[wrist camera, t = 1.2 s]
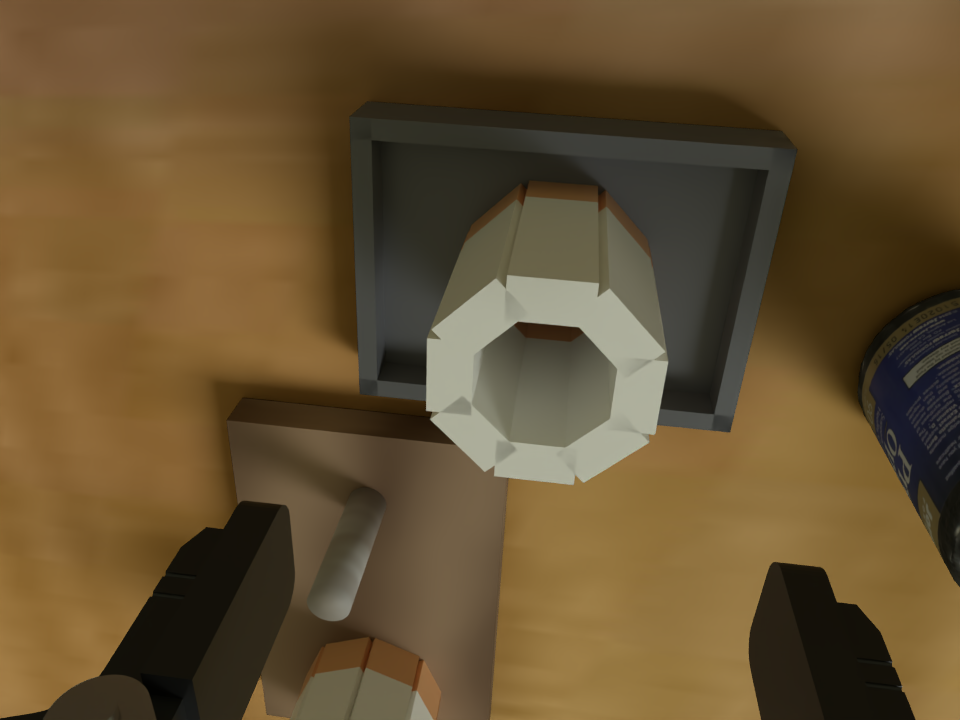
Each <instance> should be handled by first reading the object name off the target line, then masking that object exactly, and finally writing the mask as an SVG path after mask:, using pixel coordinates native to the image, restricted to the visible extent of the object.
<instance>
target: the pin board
mask: <svg viewBox="0 0 960 720" xmlns="http://www.w3.org/2000/svg"><path fill="white" fill-rule="evenodd" d="M227 428H228V435H229V442H230V450H231V457H232V464H233V472H234V479H235V486H236V494H237V501H238V504H239V503H240V502H241V501H244V500H245V501H254V502H263V503H272V504H281V505H286V506H287V507H288V509H289V513H290V523H291V533H292V544H293V554H294V565H295V583H294V590H293V595H292V599H291V603H290V606H289V609H288V611H287V614H286V616H285V618H284V621H283V623H282V625H281V628H280V630H279V632H278V635H277V637H276V639H275V642H274V644H273V647H272V649H271V651H270V654H269V656H268V658H267V661H266V663H265V665H264V668H263V670H262V672H261V677H262V684H263V691H264V699H265V706H266V713H267V715H272V716H279V717H286V718H291V716H292V713H293V710H294V708H295V705H296V702H297V700H298V697H299V694H300V691H301V689H302V686H303V683H304V681H305V678H306V675H307V673H308V671H309V670H310V668H311V666H312V664H313V662H314V660H315V659H316V657H317V655H318V653H319V651H320V649H321V648H322V647H324V648H325V646H326V644H330V643H336V642H342V641H348V640H354V639H360V638H366V637H369V638H370V639H371V641H372V642H373V641H374V639H375V638H377V639H379V640H382V641H384V642H387V643H389V644H391V645H394V646H396V647H398V648H401V649H403V650H406V651H408V652H410V653H413V654H415V655H418V656H420V657H419V661H420V660H424V661H425V663H426V665H427V667H428V668H429V670H430V672H431V674H432V676H433V678H434V680H435V681H436V683H437V685H438V687H439V689H440V691H441V700H440V705H439V710H438V715H437V720H490V713H491V700H492V687H493V673H494V660H495V647H496V634H497V620H498V607H499V594H500V580H501V567H502V554H503V541H504V527H505V514H506V501H507V487H508V478H506V477H497V476H494V469H495V466H493V467H492V468H490V469H489V470H487V471H486V472H484V471H483V470H482V469H481V468H480V467H479V466H478V465H477V464H476V463H475V462H474V461H473V460H472V459H471V458H470V457H469V456H468V455H467V454H466V453H465V452H463V451H462V450H461V449H460V448H459V447H458V446H457V445H456V444H455V443H454V442H453V441H452V440H451V439H450V438H449V437H448V436H447V435H446V434H445V433H444V432H443V431H442V430H441V429H440V428H438V427H437V426H436V425H435V424H434V423H433V422H432V421H431V420H430V418H429V417H419V416H410V415H400V414H391V413H381V412H372V411H362V410H353V409H343V408H334V407H324V406H315V405H305V404H296V403H286V402H277V401H267V400H258V399H248V398H242V399H241V401H240V402H239V404H238V405H237V406H236V408H235V409H234V411H233V412H232V413H231V415H230V416H229V418H228V419H227Z"/></svg>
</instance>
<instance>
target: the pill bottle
mask: <svg viewBox="0 0 960 720" xmlns="http://www.w3.org/2000/svg"><path fill="white" fill-rule="evenodd" d="M858 400H859V403H860V405H861V407H862V410H863V413H864V416H865V417H866V419H867V421H868V423H869V424H870V426H871V428H872V430H873V432H874V434H875V435H876V437H877V439H878V441H879V443H880V445H881V447H882V448H883V450H884V452H885V454H886V456H887V458H888V459H889V461H890V463H891V465H892V467H893V469H894V470H895V472H896V474H897V477H898V478H899V480H900V482H901V483H902V485H903V487H904V489H905V490H906V493H907V494H908V496H909V498H910V500H911V501H912V503H913V505H914V507H915V509H916V511H917V513H918V514H919V516H920V518H921V520H922V522H923V524H924V525H925V527H926V529H927V531H928V533H929V535H930V536H931V538H932V540H933V542H934V544H935V545H936V547H937V549H938V551H939V553H940V555H941V557H942V559H943V560H944V563H945V564H946V566H947V568H948V570H949V572H950V574H951V575H952V577H953V579H954V581H955V582H956V583H957V584H958V585H959V587H960V289H957V290H952V291H949V292H945V293H941V294H938V295H936V296H933V297H931V298H929V299H926V300H923V301H921V302H919V303H917V304H916V305H914V306H911V307H909V308H907V309H906V310H905V311H903V312H902V313H901V314H900V315H898V316H897V317H896V318H895V319H893V320H892V321H891V322H890V323H889V324H887V325H886V326H885V327H884V328H883V329H882V331H881V332H880V333H879V334H878V335H877V336H876V337H875V339H874V341H873V342H872V344H871V345H870V346H869V348H868V350H867V352H866V354H865V357H864V359H863V362H862V364H861V369H860V374H859V383H858Z"/></svg>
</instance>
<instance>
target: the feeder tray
mask: <svg viewBox="0 0 960 720" xmlns="http://www.w3.org/2000/svg"><path fill="white" fill-rule="evenodd" d="M350 144H351V171H352V198H353V225H354V252H355V279H356V306H357V332H358V359H359V386H360V394H363V395H373V396H383V397H392V398H402V399H412V400H421V401H426V381H427V337H428V334H429V332H430V329H431V327H432V324H433V321H434V319H435V316H436V314H437V311H438V308H439V306H440V303H441V301H442V298H443V296H444V293H445V290H446V288H447V285H448V283H449V280H450V277H451V275H452V272H453V270H454V267H455V265H456V262H457V259H458V257H459V254H460V252H461V249H462V246H463V244H464V241H465V239H466V236H467V233H468V232H469V230H470V228H471V225H472V224H473V223H474V222H475V221H477V220H478V219H479V218H480V217H481V216H483V215H484V214H485V213H486V212H487V211H489V210H490V209H491V208H492V207H493V206H494V205H496V204H497V203H498V202H499V201H500V200H502V199H503V198H504V197H505V196H506V195H507V194H509V193H510V192H511V191H512V190H513V189H515V188H516V187H517V186H518V185H519V184H522V185H523V186H524V187H525V188H526V189H527V188H528V184H529V180H530V181H543V182H556V183H568V184H581V185H594V186H598V195H600V194H601V193H602V192H603V191H605V190H606V191H607V192H608V193H609V194H610V195H611V197H612V198H613V199H614V200H615V201H616V203H617V204H618V205H619V206H620V207H621V209H622V210H623V211H624V212H625V213H626V214H627V216H628V217H629V218H630V219H631V220H632V222H633V223H634V224H635V225H636V226H637V228H638V229H639V230H640V231H641V232H642V233H643V235H644V236H645V237H646V238H647V239H648V245H649V247H650V252H651V258H652V264H653V270H654V276H655V282H656V289H657V295H658V301H659V307H660V313H661V319H662V326H663V332H664V338H665V344H666V350H667V356H668V366H667V372H666V377H665V383H664V388H663V394H662V399H661V405H660V410H659V416H658V421H657V425H663V426H673V427H683V428H692V429H702V430H712V431H721V432H730V430H731V426H732V422H733V418H734V413H735V409H736V405H737V401H738V397H739V393H740V388H741V384H742V380H743V376H744V372H745V367H746V363H747V359H748V355H749V351H750V346H751V342H752V338H753V334H754V330H755V325H756V321H757V317H758V313H759V309H760V304H761V300H762V296H763V292H764V288H765V283H766V279H767V275H768V271H769V267H770V262H771V258H772V254H773V250H774V246H775V242H776V237H777V233H778V229H779V225H780V221H781V216H782V212H783V208H784V204H785V200H786V195H787V191H788V187H789V183H790V179H791V174H792V170H793V166H794V162H795V158H796V153H797V148H796V147H795V146H794V145H793V144H792V142H791V141H790V140H789V139H788V138H787V136H786V135H785V134H784V133H783V132H782V131H774V130H760V129H746V128H732V127H718V126H704V125H690V124H676V123H662V122H648V121H634V120H620V119H606V118H592V117H578V116H564V115H550V114H536V113H522V112H508V111H494V110H480V109H466V108H452V107H438V106H424V105H410V104H396V103H382V102H368V101H367V102H366V103H365V104H364V105H363V106H361V107H360V108H359V109H358V110H357V111H356V112H354V113H353V114H352V115H351V116H350Z"/></svg>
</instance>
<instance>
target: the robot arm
mask: <svg viewBox="0 0 960 720" xmlns="http://www.w3.org/2000/svg"><path fill="white" fill-rule="evenodd" d="M294 583H295V565H294V554H293V544H292V533H291V523H290V513H289V509H288V507H287V506H286V505H281V504H272V503H263V502H254V501H245V500H244V501H241V502H240V503H239V504H238V506H237V507H236V509H235V510H234V512H233V514H232V516H231V517H230V519H229V521H228V522H227V524H226V526H225V528H224V529H217V528H208V527H206V528H205V529H204V530H202V531H201V532H200V533H199V534H197V535H196V536H195V537H194V538H192V539H191V540H190V541H188V542H187V543H186V544H185V545H183V546H182V547H181V548H180V550H179V551H178V553H177V555H176V556H175V558H174V559H173V561H172V563H171V564H170V566H169V567H168V569H167V570H166V575H165V577H162V578H161V580H160V582H159V583H158V585H157V586H156V588H155V589H154V591H153V596H152V597H149V599H148V601H147V602H146V604H145V605H144V607H143V608H142V610H141V612H140V613H139V615H138V616H137V618H136V620H135V621H134V623H133V624H132V626H131V627H130V629H129V631H128V632H127V634H126V635H125V637H124V639H123V640H122V642H121V643H120V645H119V647H118V648H117V650H116V651H115V653H114V654H113V656H112V658H111V659H110V661H109V662H108V664H107V666H106V667H105V669H104V670H103V671H102V673H101V674H100V676H99V677H95V678H92V679H89V680H86V681H84V682H82V683H79V684H78V685H76V686H74V687H73V688H71V689H69V690H68V691H67V692H65V693H64V694H63V695H62V696H60V697H59V698H58V699H57V700H56V701H55V702H54V703H53V705H52V706H51V707H50V708H49V709H48V710H45V711H41V712H36V713H32V714H25V715H19V716H13V717H7V718H0V720H242V717H243V715H244V713H245V710H246V708H247V706H248V703H249V701H250V698H251V696H252V694H253V691H254V689H255V687H256V684H257V682H258V680H259V677H260V675H261V672H262V670H263V668H264V665H265V663H266V661H267V658H268V656H269V654H270V651H271V649H272V647H273V644H274V642H275V639H276V637H277V635H278V632H279V630H280V628H281V625H282V623H283V621H284V618H285V616H286V614H287V611H288V609H289V606H290V603H291V599H292V595H293V590H294ZM749 662H750V668H751V673H752V678H753V683H754V687H755V692H756V697H757V702H758V706H759V711H760V716H761V720H915V717H914V715H913V712H912V710H911V707H910V705H909V702H908V700H907V697H906V695H905V692H902V685H901V682H900V680H899V677H898V675H897V672H896V670H895V668H894V667H892V660H891V657H890V655H889V652H888V650H887V647H886V645H885V642H884V640H883V637H882V635H881V632H880V631H879V630H878V629H877V628H876V627H875V625H874V624H873V623H872V622H871V621H870V620H869V619H868V617H867V616H866V615H865V614H864V613H863V612H862V611H861V609H860V608H859V607H858V606H857V605H855V604H847V603H838V602H837V601H836V599H835V596H834V593H833V590H832V587H831V585H830V582H829V579H828V576H827V574H826V572H825V570H824V569H823V568H821V567H814V566H805V565H797V564H788V563H779V562H773V563H772V564H771V566H770V568H769V570H768V573H767V576H766V580H765V583H764V586H763V589H762V593H761V596H760V599H759V603H758V606H757V609H756V613H755V616H754V619H753V623H752V626H751V630H750V637H749Z"/></svg>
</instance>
